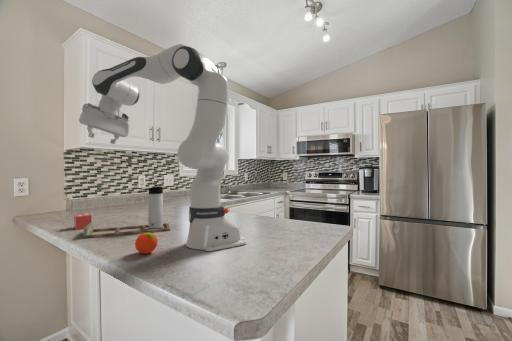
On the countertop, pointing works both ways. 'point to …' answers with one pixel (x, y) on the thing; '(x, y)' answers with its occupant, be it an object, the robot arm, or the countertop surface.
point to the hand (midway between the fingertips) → (102, 140)
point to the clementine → (146, 242)
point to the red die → (81, 221)
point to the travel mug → (156, 208)
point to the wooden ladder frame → (90, 229)
